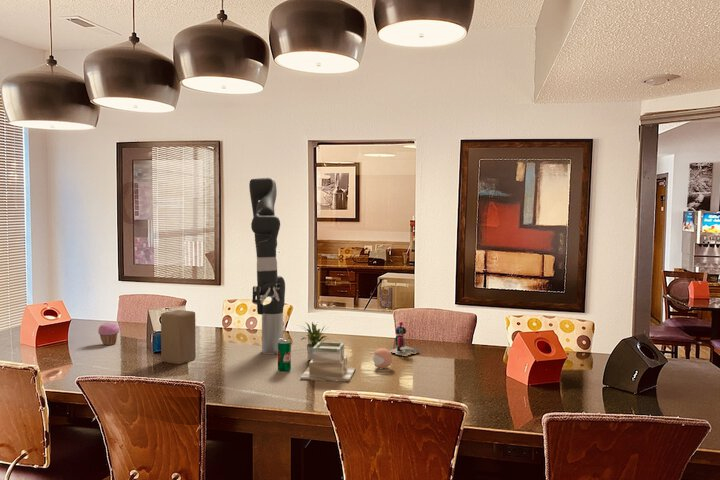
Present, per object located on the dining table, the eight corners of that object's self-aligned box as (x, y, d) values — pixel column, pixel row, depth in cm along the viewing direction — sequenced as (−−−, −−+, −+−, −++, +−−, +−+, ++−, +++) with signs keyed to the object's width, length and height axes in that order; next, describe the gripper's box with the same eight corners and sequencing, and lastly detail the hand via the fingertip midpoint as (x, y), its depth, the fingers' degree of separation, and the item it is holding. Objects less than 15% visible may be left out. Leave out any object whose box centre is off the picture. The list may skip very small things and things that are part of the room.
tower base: (309, 368, 218) (309, 339, 217) (355, 370, 215) (355, 341, 215) (300, 379, 203) (300, 349, 203) (349, 382, 201) (349, 351, 200)
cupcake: (123, 343, 256) (123, 322, 255) (106, 347, 248) (105, 325, 248) (111, 341, 260) (111, 320, 260) (94, 344, 253) (93, 323, 253)
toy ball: (369, 366, 221) (369, 347, 220) (386, 364, 224) (387, 345, 223) (377, 372, 213) (378, 351, 213) (395, 370, 216) (396, 350, 216)
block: (196, 359, 230) (196, 311, 229) (179, 365, 221) (178, 315, 220) (178, 356, 234) (177, 309, 233) (160, 362, 225) (159, 313, 224)
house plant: (288, 359, 230) (288, 320, 230) (312, 353, 241) (313, 315, 240) (311, 366, 221) (311, 325, 220) (336, 359, 231) (336, 320, 230)
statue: (403, 360, 235) (401, 326, 233) (388, 355, 242) (385, 322, 240) (421, 353, 242) (419, 319, 240) (405, 348, 249) (403, 316, 247)
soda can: (285, 373, 211) (285, 341, 211) (274, 370, 214) (274, 339, 213) (293, 369, 216) (293, 339, 215) (283, 367, 218) (283, 337, 218)
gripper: (271, 268, 216) (272, 310, 216) (246, 270, 204) (247, 314, 204) (286, 268, 212) (288, 310, 212) (262, 270, 200) (263, 315, 200)
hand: (268, 312), depth 208 cm, fingers open, 8 cm apart
